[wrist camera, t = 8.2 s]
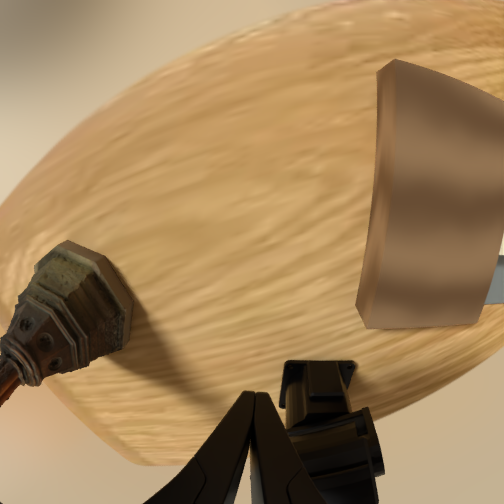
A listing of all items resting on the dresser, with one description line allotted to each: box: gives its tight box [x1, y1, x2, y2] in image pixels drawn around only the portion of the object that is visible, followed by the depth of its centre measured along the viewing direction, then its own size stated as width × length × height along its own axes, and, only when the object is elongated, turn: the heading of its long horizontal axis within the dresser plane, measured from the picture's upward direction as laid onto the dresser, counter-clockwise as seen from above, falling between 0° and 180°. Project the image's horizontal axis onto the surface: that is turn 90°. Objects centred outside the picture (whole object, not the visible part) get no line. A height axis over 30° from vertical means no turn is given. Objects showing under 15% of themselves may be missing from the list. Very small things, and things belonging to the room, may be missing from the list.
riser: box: [355, 59, 504, 329], centre depth 17 cm, size 18×11×4 cm, turn 178°
